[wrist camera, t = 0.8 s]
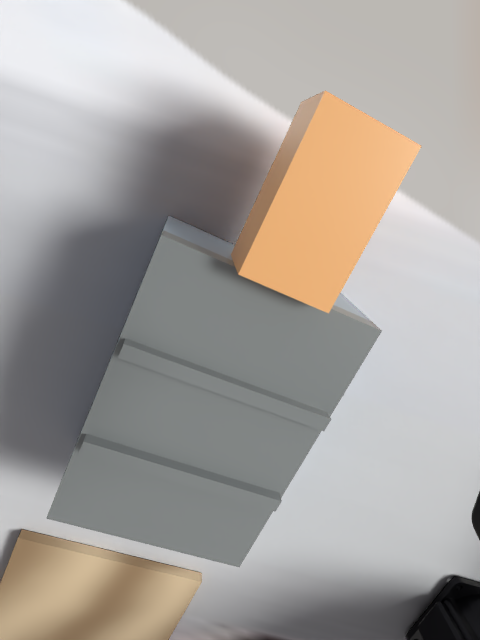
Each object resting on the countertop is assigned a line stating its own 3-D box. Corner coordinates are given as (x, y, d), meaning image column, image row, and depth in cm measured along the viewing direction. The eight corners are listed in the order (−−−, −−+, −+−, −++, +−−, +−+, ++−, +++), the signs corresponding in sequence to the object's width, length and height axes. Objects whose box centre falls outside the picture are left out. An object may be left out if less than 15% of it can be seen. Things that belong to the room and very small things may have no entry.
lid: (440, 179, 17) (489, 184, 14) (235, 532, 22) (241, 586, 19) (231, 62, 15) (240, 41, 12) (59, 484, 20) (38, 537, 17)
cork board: (201, 572, 27) (201, 581, 27) (118, 717, 31) (117, 727, 31) (21, 529, 24) (17, 537, 24) (-42, 693, 29) (-47, 704, 28)
